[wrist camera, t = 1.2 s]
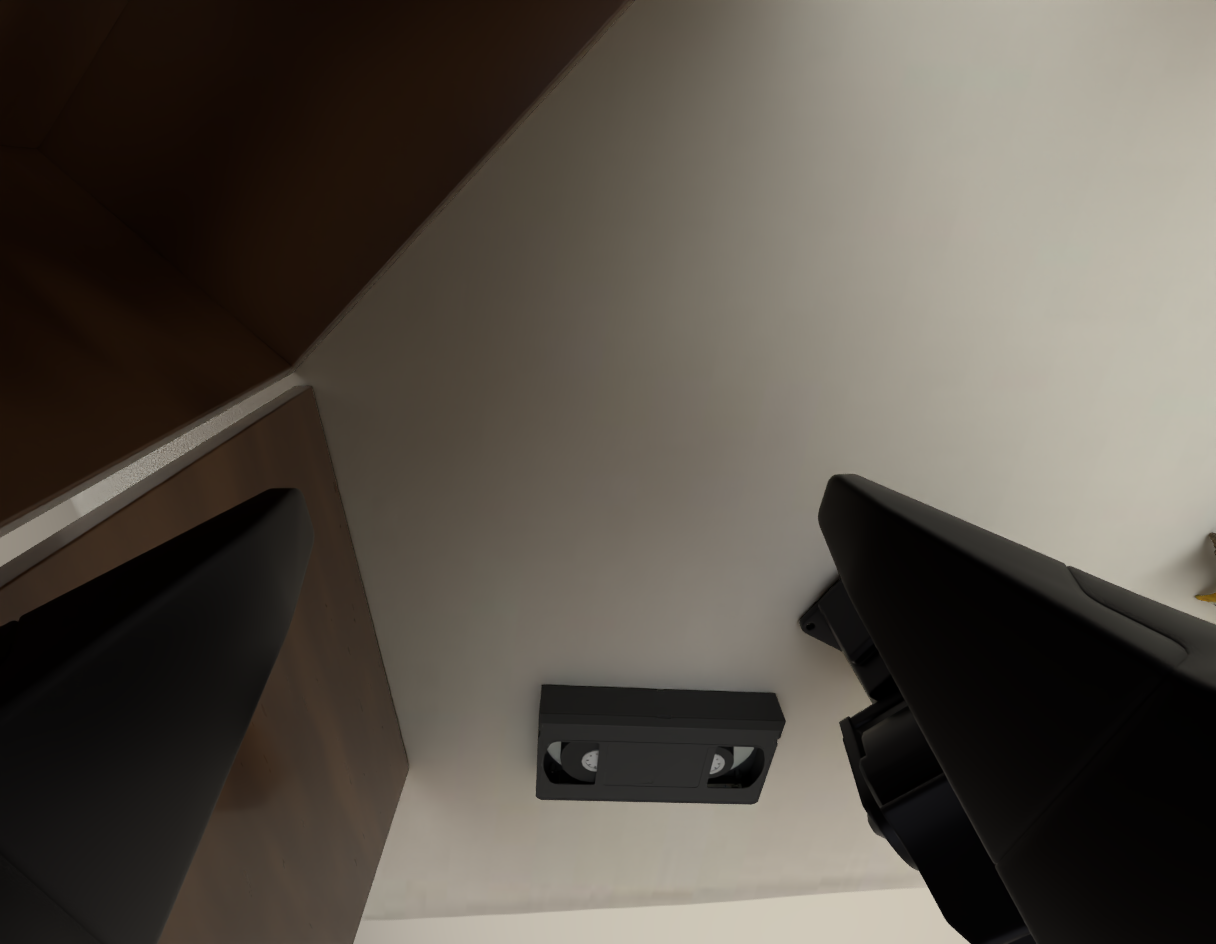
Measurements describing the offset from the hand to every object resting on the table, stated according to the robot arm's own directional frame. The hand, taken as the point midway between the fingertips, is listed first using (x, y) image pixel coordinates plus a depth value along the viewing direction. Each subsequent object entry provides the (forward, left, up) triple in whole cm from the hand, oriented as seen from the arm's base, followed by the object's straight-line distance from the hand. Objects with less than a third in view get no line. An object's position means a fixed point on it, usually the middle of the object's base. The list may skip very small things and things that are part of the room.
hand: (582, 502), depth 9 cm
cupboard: (+11, -5, -15) cm, 20 cm away
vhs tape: (-17, +20, -15) cm, 30 cm away
